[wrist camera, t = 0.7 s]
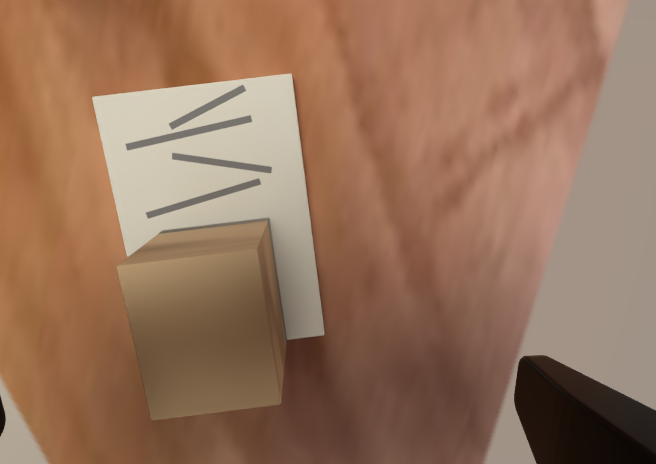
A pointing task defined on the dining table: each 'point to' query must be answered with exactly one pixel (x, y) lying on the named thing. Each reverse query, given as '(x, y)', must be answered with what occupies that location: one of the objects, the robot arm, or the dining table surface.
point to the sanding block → (207, 318)
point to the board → (216, 173)
